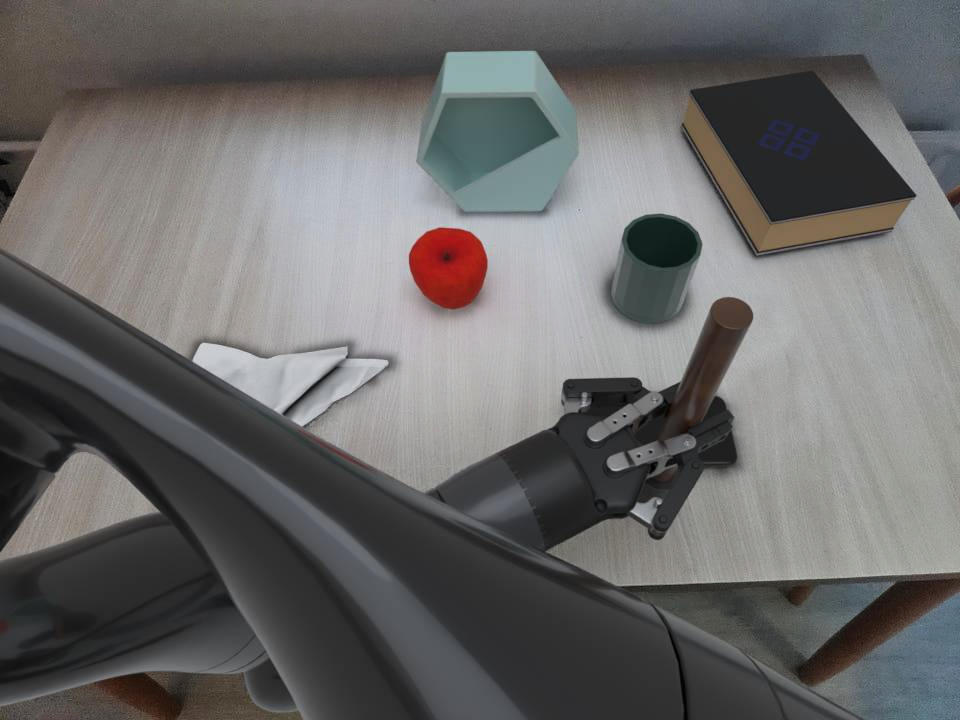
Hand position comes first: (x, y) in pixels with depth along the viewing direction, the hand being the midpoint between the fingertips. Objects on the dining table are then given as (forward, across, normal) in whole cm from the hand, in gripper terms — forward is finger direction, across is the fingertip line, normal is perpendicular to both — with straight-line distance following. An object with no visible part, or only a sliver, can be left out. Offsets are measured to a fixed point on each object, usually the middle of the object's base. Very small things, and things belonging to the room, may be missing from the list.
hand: (715, 403), depth 49 cm
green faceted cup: (+11, +21, +16) cm, 29 cm away
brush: (-3, 0, +15) cm, 15 cm away
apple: (-9, +32, +16) cm, 37 cm away
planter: (+4, +45, +16) cm, 48 cm away
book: (+37, +29, +16) cm, 50 cm away
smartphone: (+1, +6, +16) cm, 17 cm away
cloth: (-33, +29, +16) cm, 46 cm away
